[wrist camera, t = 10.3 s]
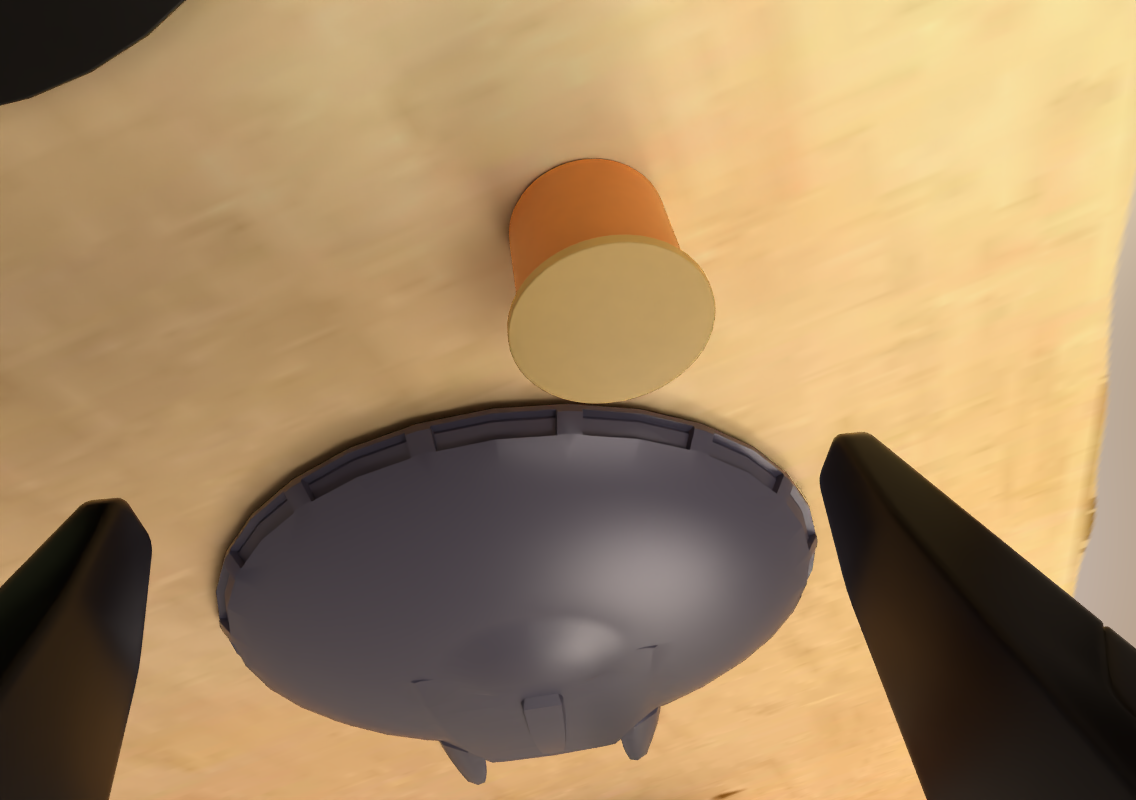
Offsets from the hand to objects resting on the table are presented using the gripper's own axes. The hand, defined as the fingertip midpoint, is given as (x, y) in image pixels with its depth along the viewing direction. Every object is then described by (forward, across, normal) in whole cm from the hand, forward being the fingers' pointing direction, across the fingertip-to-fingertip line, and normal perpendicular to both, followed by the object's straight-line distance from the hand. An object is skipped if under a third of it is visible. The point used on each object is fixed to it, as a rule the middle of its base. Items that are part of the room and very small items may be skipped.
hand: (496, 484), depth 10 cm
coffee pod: (+10, -3, +3) cm, 11 cm away
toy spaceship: (+11, -1, +23) cm, 25 cm away
